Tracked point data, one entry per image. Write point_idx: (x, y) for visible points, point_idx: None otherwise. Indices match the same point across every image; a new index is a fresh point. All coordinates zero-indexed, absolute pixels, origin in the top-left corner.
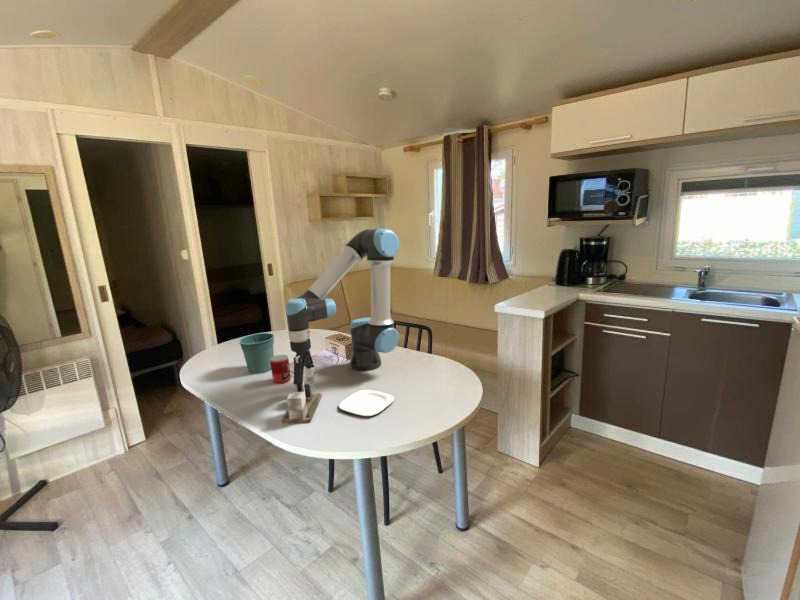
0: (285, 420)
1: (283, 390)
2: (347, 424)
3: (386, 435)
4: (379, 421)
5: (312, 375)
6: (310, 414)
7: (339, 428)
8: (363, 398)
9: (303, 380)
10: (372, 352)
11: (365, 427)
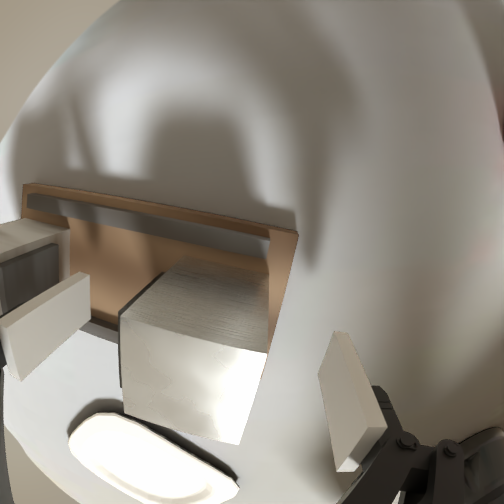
0: (22, 199)
1: (429, 136)
2: (39, 396)
3: (25, 434)
4: (64, 450)
5: (329, 419)
6: None
7: None
8: (182, 475)
9: (160, 376)
10: None
11: (37, 421)
